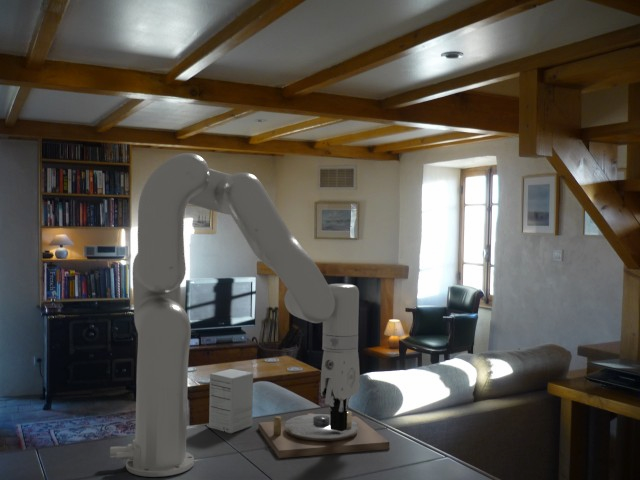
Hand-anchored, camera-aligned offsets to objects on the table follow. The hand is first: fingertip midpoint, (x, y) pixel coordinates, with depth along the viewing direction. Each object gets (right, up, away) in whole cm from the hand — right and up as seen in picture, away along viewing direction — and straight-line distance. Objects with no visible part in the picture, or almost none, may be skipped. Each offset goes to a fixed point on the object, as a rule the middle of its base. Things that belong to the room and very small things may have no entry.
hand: (338, 429), depth 134 cm
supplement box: (-25, -4, +13) cm, 28 cm away
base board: (-4, -4, +6) cm, 8 cm away
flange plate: (-4, -2, +7) cm, 8 cm away
